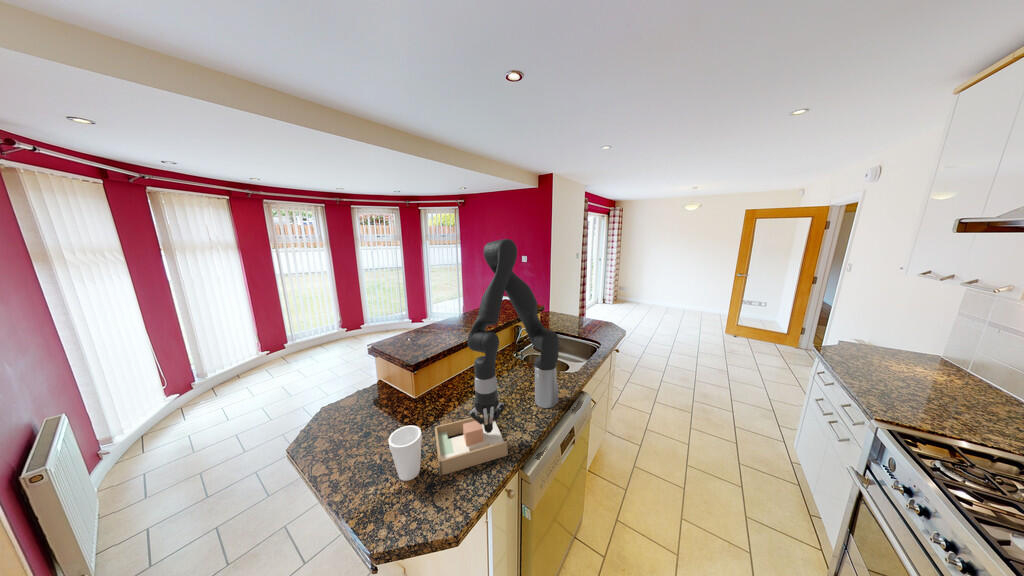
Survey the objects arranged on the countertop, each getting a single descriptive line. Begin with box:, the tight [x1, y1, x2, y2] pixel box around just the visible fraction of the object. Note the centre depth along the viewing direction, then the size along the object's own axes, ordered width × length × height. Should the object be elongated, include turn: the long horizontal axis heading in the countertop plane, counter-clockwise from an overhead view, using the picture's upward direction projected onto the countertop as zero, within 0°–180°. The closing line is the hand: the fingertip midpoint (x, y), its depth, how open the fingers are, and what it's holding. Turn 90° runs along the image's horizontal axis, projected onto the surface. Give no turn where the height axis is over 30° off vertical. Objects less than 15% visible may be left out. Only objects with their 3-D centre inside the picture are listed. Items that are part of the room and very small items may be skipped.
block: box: [462, 421, 483, 446], centre depth 97 cm, size 6×5×5 cm
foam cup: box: [387, 425, 423, 482], centre depth 86 cm, size 10×9×13 cm
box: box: [434, 414, 509, 477], centre depth 97 cm, size 22×17×5 cm
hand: (488, 431), depth 99 cm, fingers closed
